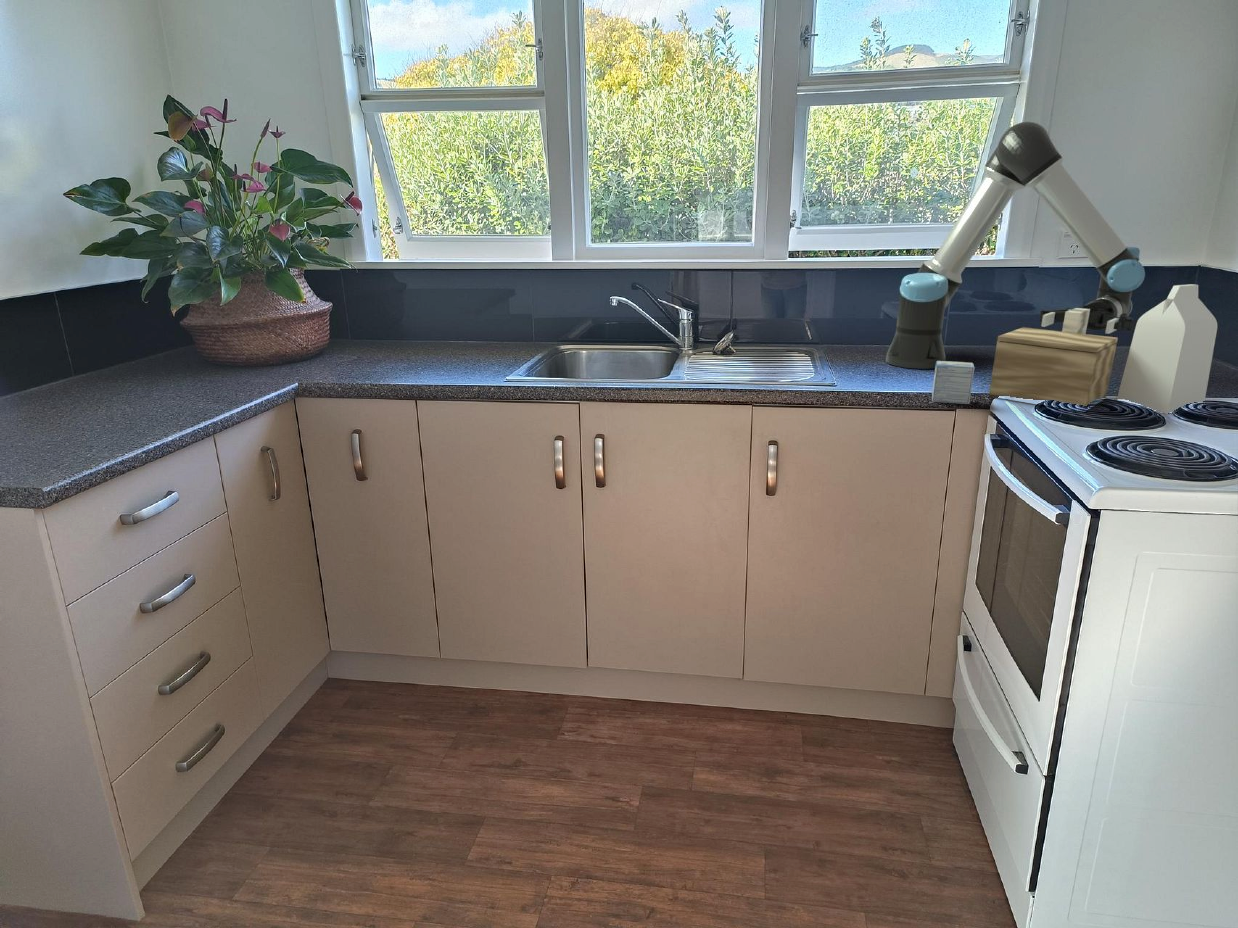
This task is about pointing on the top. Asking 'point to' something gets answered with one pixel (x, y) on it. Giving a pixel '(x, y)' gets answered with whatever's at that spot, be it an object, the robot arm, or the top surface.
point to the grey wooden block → (953, 382)
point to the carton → (1050, 373)
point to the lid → (1063, 335)
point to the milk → (1171, 353)
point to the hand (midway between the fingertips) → (1075, 324)
